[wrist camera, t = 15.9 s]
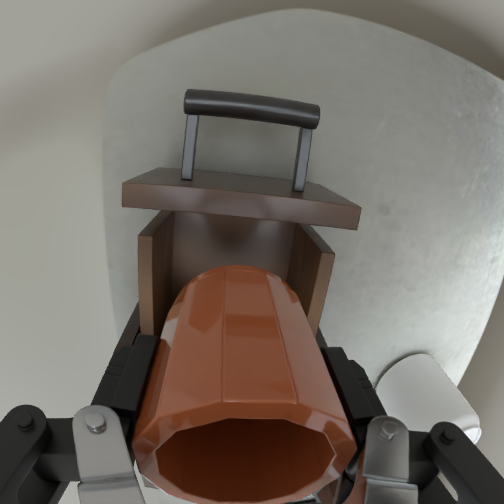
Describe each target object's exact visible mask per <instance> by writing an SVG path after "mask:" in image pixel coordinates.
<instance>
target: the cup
mask: <svg viewBox="0 0 504 504" xmlns="http://www.w3.org/2000/svg"><path fill="white" fill-rule="evenodd" d="M131 445H132V449H133V453H134V456H135V460H136V463H137V466H138V469H139V472H140V474H141V475H142V476H143V477H145V478H146V479H147V480H149V481H150V482H151V483H153V484H154V485H156V486H157V487H158V488H160V489H161V490H163V491H164V492H165V493H167V494H168V495H171V496H173V497H176V498H180V499H183V500H186V501H190V502H193V503H197V504H283V503H287V502H290V501H294V500H298V499H302V498H304V497H306V496H308V495H310V494H312V493H313V492H315V491H317V490H319V489H320V488H322V487H324V486H325V485H327V484H329V483H330V482H332V481H334V480H335V479H337V478H338V477H339V476H341V474H342V473H343V471H344V470H345V468H346V467H347V465H348V464H349V462H350V461H351V459H352V458H353V456H354V454H355V453H356V451H357V448H358V447H357V444H356V442H355V439H354V436H353V434H352V431H351V428H350V426H349V423H348V420H347V418H346V415H345V412H344V410H343V407H342V405H341V402H340V400H339V397H338V395H337V392H336V389H335V387H334V384H333V382H332V379H331V377H330V374H329V372H328V369H327V367H326V364H325V362H324V359H323V357H322V354H321V352H320V349H319V347H318V344H317V342H316V339H315V337H314V334H313V332H312V330H311V327H310V325H309V322H308V320H307V317H306V315H305V313H304V310H303V308H302V305H301V303H300V300H299V298H298V296H297V294H296V293H295V292H294V291H293V289H292V288H291V287H290V286H289V285H288V284H287V283H286V282H285V281H284V280H282V279H281V278H280V277H278V276H277V275H275V274H273V273H271V272H269V271H266V270H264V269H261V268H257V267H254V266H247V265H228V266H222V267H217V268H214V269H211V270H208V271H206V272H204V273H202V274H200V275H198V276H197V277H195V278H194V279H192V280H191V281H190V282H189V283H188V284H186V285H185V286H184V288H183V289H182V290H181V291H180V293H179V294H178V296H177V297H176V299H175V302H174V304H173V306H172V308H171V309H170V311H169V313H168V316H167V319H166V322H165V325H164V328H163V332H162V335H161V338H160V341H159V345H158V348H157V351H156V355H155V358H154V362H153V365H152V368H151V372H150V375H149V379H148V382H147V386H146V390H145V393H144V397H143V401H142V404H141V408H140V412H139V416H138V419H137V423H136V427H135V431H134V435H133V439H132V443H131Z"/></svg>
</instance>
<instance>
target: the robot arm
mask: <svg viewBox="0 0 504 504" xmlns="http://www.w3.org/2000/svg"><path fill="white" fill-rule="evenodd" d="M159 341H160V337H159V336H155V335H147V334H138V335H137V337H136V340H135V342H134V345H133V347H130V346H124V345H123V346H122V347H121V348H119V349H118V350H117V351H116V352H115V353H113V356H112V358H111V360H110V362H109V366H108V367H107V369H106V371H105V374H104V375H103V377H102V380H101V382H100V384H99V387H98V389H97V391H96V393H95V396H94V398H93V400H92V403H91V405H90V406H87V407H84V408H82V409H80V410H79V411H78V412H77V413H76V414H75V415H74V417H73V418H46V416H45V414H44V413H43V411H41V410H40V409H39V408H38V407H35V406H32V405H21V406H17V407H15V408H13V409H12V410H11V411H10V412H9V413H8V414H7V415H6V416H5V417H4V419H3V420H2V421H1V422H0V504H58V502H59V500H60V499H61V497H62V495H63V493H64V491H65V490H66V488H67V486H68V484H69V483H70V481H80V483H79V484H78V494H79V499H80V504H146V503H145V500H144V497H143V495H142V492H141V489H140V486H139V483H138V480H137V477H136V475H135V471H134V468H133V467H134V462H135V456H134V453H133V449H132V445H131V443H132V439H133V435H134V431H135V427H136V423H137V419H138V416H139V412H140V408H141V404H142V401H143V397H144V393H145V390H146V386H147V382H148V379H149V375H150V372H151V368H152V365H153V362H154V358H155V355H156V351H157V348H158V345H159ZM320 352H321V354H322V357H323V359H324V362H325V364H326V367H327V369H328V372H329V374H330V377H331V379H332V382H333V384H334V387H335V389H336V392H337V395H338V397H339V400H340V402H341V405H342V407H343V410H344V412H345V415H346V418H347V420H348V423H349V426H350V428H351V431H352V434H353V436H354V439H355V442H356V444H357V447H358V448H357V451H356V453H355V454H354V456H353V458H352V459H351V461H350V462H349V464H348V465H347V467H346V468H345V470H344V471H343V473H342V474H341V476H339V479H338V483H337V487H336V491H335V496H334V500H333V503H332V504H504V478H503V477H502V476H501V475H500V474H499V472H498V471H497V470H496V469H495V468H494V467H493V466H492V464H491V463H490V462H489V461H488V460H487V458H486V457H485V456H484V455H483V454H482V453H481V451H480V450H479V449H478V448H477V447H476V446H475V444H474V443H473V442H472V441H471V440H470V439H469V438H468V436H467V435H466V434H465V433H464V432H463V431H462V430H461V429H460V428H459V427H458V426H457V425H455V424H453V423H451V422H446V421H442V422H438V423H436V424H435V425H434V426H433V427H432V428H431V430H430V431H429V432H422V431H411V430H408V429H407V427H406V426H405V424H404V423H403V422H402V421H400V420H399V419H397V418H394V417H391V416H388V415H387V413H386V411H385V409H384V407H383V405H382V403H381V401H380V399H379V397H378V395H377V394H376V392H375V390H374V388H372V387H373V386H372V384H371V382H370V380H368V376H367V374H366V373H365V371H364V369H363V368H362V367H361V366H360V365H359V364H358V363H356V362H355V361H354V360H348V358H347V356H346V354H345V352H344V350H343V349H342V348H341V347H321V348H320ZM441 472H442V473H443V475H444V476H445V477H446V479H447V480H448V481H449V483H450V484H451V485H452V487H453V488H454V489H455V490H456V492H457V494H458V501H455V499H454V498H453V497H452V495H451V494H450V493H449V492H448V490H447V489H446V488H445V486H444V485H443V483H442V482H441V481H440V479H439V478H438V475H439V474H440V473H441Z"/></svg>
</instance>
